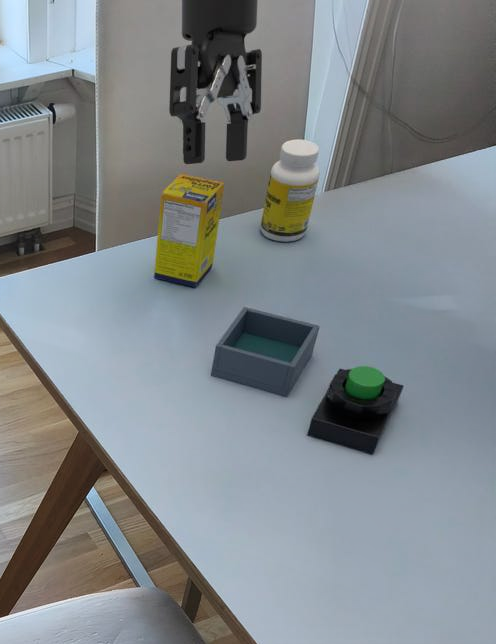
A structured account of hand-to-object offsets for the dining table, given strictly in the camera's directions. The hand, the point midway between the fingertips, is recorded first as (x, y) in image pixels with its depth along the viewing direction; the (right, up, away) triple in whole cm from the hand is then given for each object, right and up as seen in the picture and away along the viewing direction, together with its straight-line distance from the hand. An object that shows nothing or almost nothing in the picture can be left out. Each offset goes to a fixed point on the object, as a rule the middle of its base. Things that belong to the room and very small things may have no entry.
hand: (215, 162), depth 96 cm
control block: (+15, -28, -1) cm, 32 cm away
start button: (+15, -26, -4) cm, 30 cm away
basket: (+7, -20, +6) cm, 22 cm away
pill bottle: (+15, +4, +25) cm, 29 cm away
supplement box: (0, -4, +19) cm, 19 cm away
